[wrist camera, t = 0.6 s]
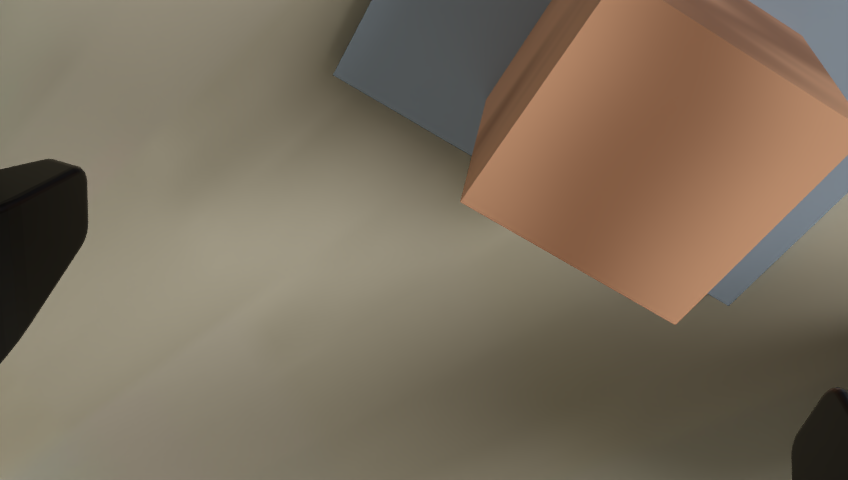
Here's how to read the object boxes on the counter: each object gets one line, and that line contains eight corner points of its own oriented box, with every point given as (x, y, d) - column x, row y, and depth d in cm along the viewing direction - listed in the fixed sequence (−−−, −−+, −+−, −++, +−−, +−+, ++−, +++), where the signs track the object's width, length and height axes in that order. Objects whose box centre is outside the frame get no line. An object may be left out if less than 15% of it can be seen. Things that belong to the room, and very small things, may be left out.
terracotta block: (802, 35, 18) (869, 133, 13) (656, 201, 20) (674, 325, 16) (610, -90, 17) (620, -28, 13) (486, 99, 20) (460, 202, 15)
